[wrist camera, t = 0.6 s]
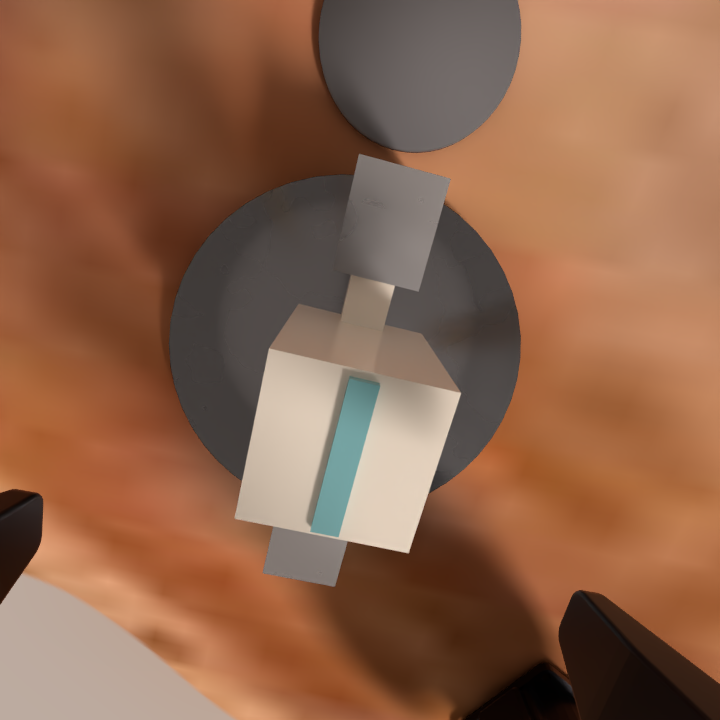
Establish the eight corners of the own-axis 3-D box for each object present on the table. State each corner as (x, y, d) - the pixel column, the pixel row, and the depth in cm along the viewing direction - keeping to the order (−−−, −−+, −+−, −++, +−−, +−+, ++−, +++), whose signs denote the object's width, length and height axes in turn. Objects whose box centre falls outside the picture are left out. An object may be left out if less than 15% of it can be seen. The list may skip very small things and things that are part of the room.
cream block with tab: (316, 221, 15) (294, 217, 9) (444, 254, 15) (504, 272, 10) (259, 485, 18) (214, 615, 12) (370, 508, 18) (380, 645, 12)
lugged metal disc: (206, 133, 17) (146, 95, 12) (560, 229, 18) (640, 230, 13) (157, 465, 21) (97, 541, 16) (455, 526, 22) (486, 615, 17)
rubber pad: (557, 43, 16) (562, 39, 16) (416, 193, 18) (417, 192, 17) (421, -130, 15) (423, -140, 15) (278, 46, 16) (276, 42, 16)
